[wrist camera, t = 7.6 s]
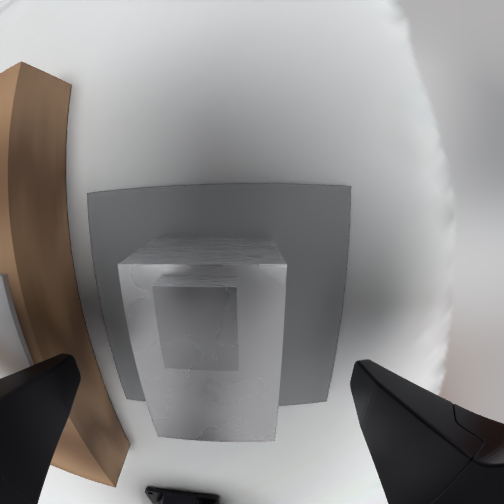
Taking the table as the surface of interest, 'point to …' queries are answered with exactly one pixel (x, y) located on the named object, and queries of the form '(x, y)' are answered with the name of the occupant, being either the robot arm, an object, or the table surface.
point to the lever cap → (208, 333)
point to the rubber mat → (237, 223)
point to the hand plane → (47, 268)
